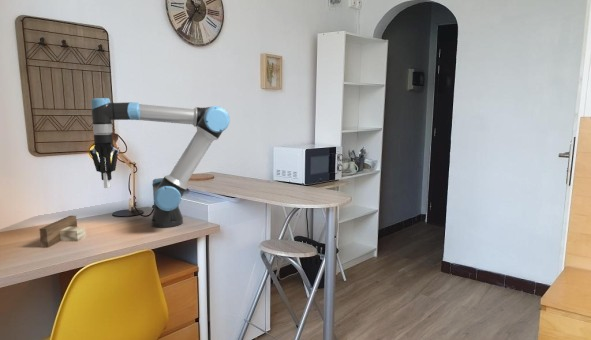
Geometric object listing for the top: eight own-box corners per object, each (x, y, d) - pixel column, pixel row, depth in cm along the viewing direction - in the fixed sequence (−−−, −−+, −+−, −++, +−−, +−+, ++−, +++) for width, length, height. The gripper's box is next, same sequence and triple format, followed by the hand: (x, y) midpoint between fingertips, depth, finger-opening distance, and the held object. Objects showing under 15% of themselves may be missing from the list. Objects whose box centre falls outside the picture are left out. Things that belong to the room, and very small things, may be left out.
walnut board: (77, 232, 201) (76, 215, 200) (48, 247, 180) (46, 228, 179) (71, 232, 202) (69, 215, 201) (41, 247, 180) (39, 228, 179)
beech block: (86, 237, 193) (85, 226, 193) (77, 241, 187) (76, 230, 187) (69, 237, 194) (68, 226, 194) (60, 241, 188) (59, 230, 188)
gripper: (121, 133, 191) (125, 185, 195) (93, 133, 192) (97, 185, 195) (113, 134, 184) (117, 188, 187) (83, 134, 184) (88, 189, 188)
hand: (107, 187), depth 191 cm, fingers closed
